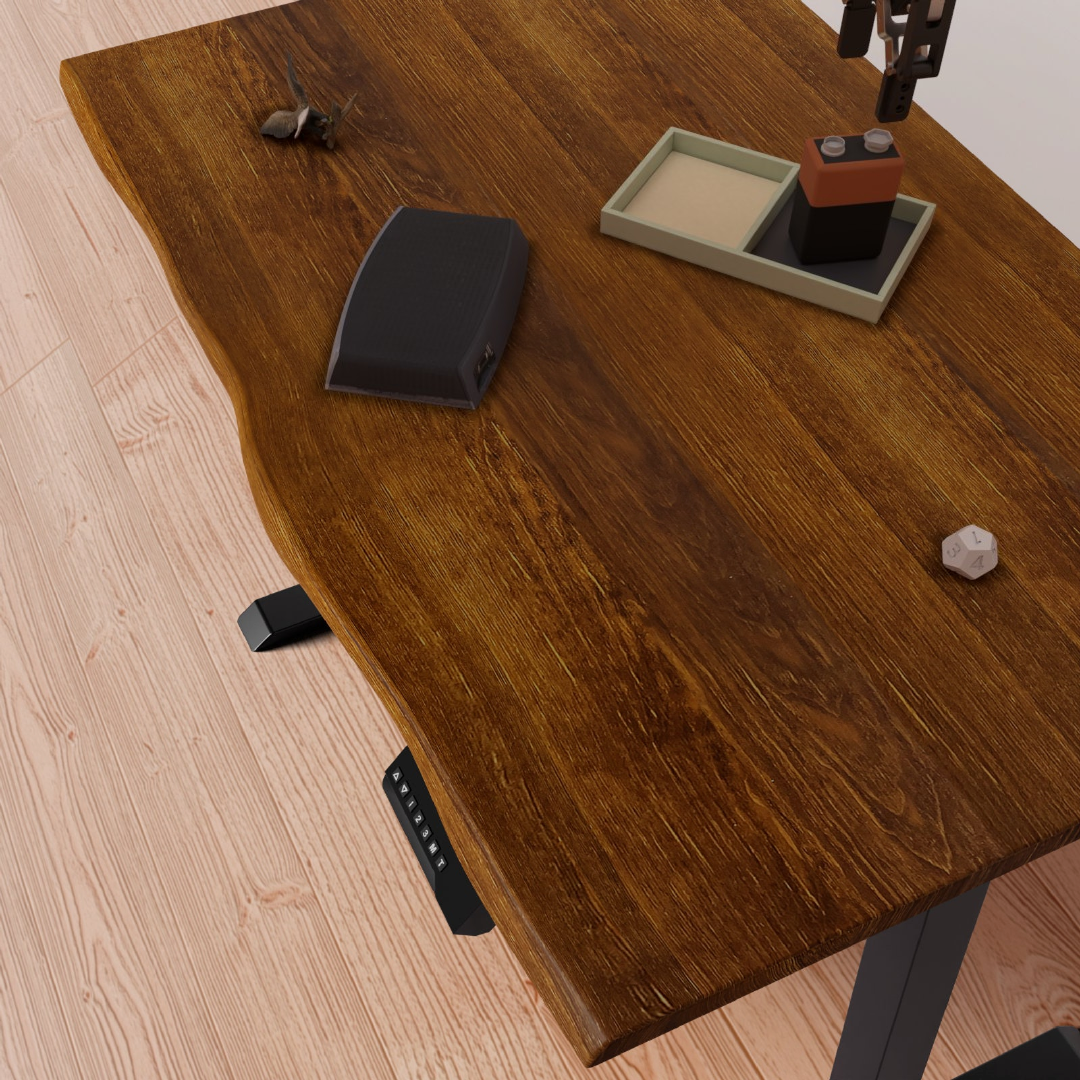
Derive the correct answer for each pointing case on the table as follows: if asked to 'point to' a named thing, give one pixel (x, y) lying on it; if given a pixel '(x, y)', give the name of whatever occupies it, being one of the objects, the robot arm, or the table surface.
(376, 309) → the hard drive
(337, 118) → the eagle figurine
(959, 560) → the game die
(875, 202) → the battery
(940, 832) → the table surface
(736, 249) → the sorting tray
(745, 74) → the table surface
